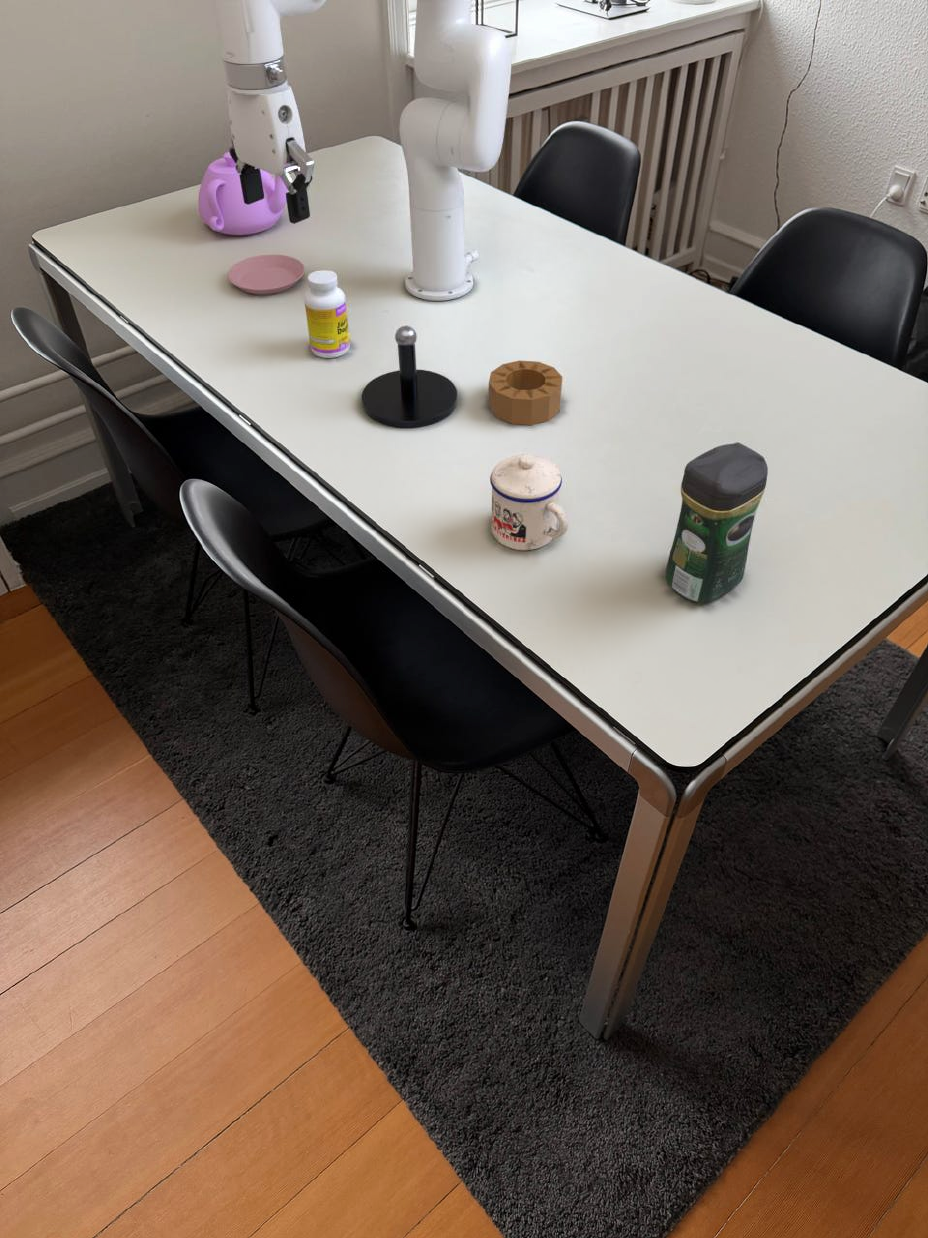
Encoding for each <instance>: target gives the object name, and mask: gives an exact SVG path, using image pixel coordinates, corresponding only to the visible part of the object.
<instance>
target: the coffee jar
mask: <svg viewBox="0 0 928 1238" xmlns="http://www.w3.org/2000/svg"><path fill="white" fill-rule="evenodd" d="M768 469H769V467H768V464H767V462H766V459H765V457H764V456H762V455H761V454H760V453H759V452H757V451H756V450H754V449H752V448H750V447H749V446H746V445H745V444H743V443H741V442H738V441H736V442H734V443H726V444H722V445H718V446H716V447H715V446H714V447H712V448H711V449H709V450H707V451H705V452H703V453H701V454H699V455H698V456H696V457H695V458H693V459H692V460H690V461H688V462H687V464H686V465H685V468H684V470H683V476H682V480H681V484H680V495H681V507H680V511H679V515H678V521H677V524H676V529H675V533H674V537H673V541H672V545H671V547H670V548H671V549H670V552H669V555H668V559H667V564H666V568H665V573H664V579H665V582H666V583H667V585H668V586H669V587H670V588H671V589H672V590H673V591H674V592H675V593H676V594H678V595H679V596H680V597H682V598H684V599H686V600H688V601H691V602H694V603H700V604H708V603H710V602H713V601H715V600H718V599H719V598H721V597H723V596H724V595H727V593H729V592H731V591H732V590H733V589H735V588H736V587H737V586H738V585H739V584H740V583H741V582H742V581H743V579H744V575H745V571H746V566H747V560H748V554H749V547H750V542H751V537H752V532H753V526H754V522H755V517H756V514H757V511H758V509H759V505H760V502H761V500H762V498H763V495H764V493H765V490H766V487H767V481H768V473H769V470H768Z"/></svg>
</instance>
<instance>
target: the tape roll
mask: <svg viewBox="0 0 928 1238" xmlns="http://www.w3.org/2000/svg"><path fill="white" fill-rule="evenodd" d="M562 388H563V376H562V374H560V372H559V371H558V370H557V369H556V367H554V366H552V365H548V364H546V363H543V362H541V361H537V360H536V361H535V360H520V359H519V360H516V361H515V360H514V361H511V362H506V363H502V364H501V365H499V366H498V367H496V368H495V369H493V370H492V371H491V372H490V374H489V379H488V409H489V410H490V411H491V413H492V414H493V416H494V417H495V418H496V419H498V420H502V421H504V422H506V423H509V424H511V425H521V426H522V425H523V426H533V425H538V424H542V423H546V422H549V421H551V420H552V419H553V418H554V417H556V415H557V416H558V414H559V413H560V409H561V402H562V390H563V389H562Z"/></svg>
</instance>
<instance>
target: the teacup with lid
mask: <svg viewBox="0 0 928 1238" xmlns="http://www.w3.org/2000/svg"><path fill="white" fill-rule="evenodd" d="M489 482H490V485H491V533H492V535H493V537H494V538H495V540H496V541H497V542H498V543H500V544H501V545H503V546H504V547H506V548H509V549H511V550H517V551H518V550H519V551H532V550H537V549H541V548H542V547H544V546H546V545H548V544H549V543H551V541H552V540H553V539H559V538H561V537H563V536H564V535H565V534H566V533H567V531H568V529H569V518H568V516H567V513H566V512H565V510H564V509H563V508H562V507H561V506H560V505H559V501H560V499H559V498H560V489H561V487H562V483H563V477H562V474H561V472H560V470H559V468H558V466H556V465H555V464H554V463H553V462H552V461H550V460H548V459H546V458H544V457H541V456H537V455H532V454H519V455H512V456H509V457H507V458H505V459H503V460H501V461H499V463H497V464H496V465H495V466H494V468H493V469H492V471H491V474H490V476H489ZM557 523H558V524H559V525H557ZM557 526H559V527H558V530H557Z"/></svg>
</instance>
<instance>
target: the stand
mask: <svg viewBox="0 0 928 1238" xmlns="http://www.w3.org/2000/svg"><path fill="white" fill-rule="evenodd" d="M394 338H395V342H396V344H397V355H398V368H399V370H394V371H390V372H387V373H384V374H381V375H379V376H377V377H374V378H373V379H372V380H370V382H368V383H367V384H366V385H365V387H364V388H363V389H362V392H361V397H360V398H361V406H362V409H363V411H364V413H365V414H366V415H367V416H368V417H369V418H370V419H371V420H373V421H375V422H376V423H378V424H381V425H384V426H387V427H392V428H400V429H416V428H424V427H428V426H431V425H434V424H437V423H439V422H441V421H443V420H445V419H446V418H448V417H449V416H450V415H451V414H452V413H453V412H454V411H455V409H456V408H457V405H458V400H459V399H458V390H457V387H456V385H455V384H454V383H453V381H451V380H450V379H449V378H448V377H446V376H444V375H443V374H440V373H437V372H434V371H430V370H426V369H417V353H416V342H417V339H418V338H417V331H416V330H415V329H414V328H413V327H411V326H410V325H403V326H400V327H399V328H398V329H397V330H396V332H395V335H394Z"/></svg>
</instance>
